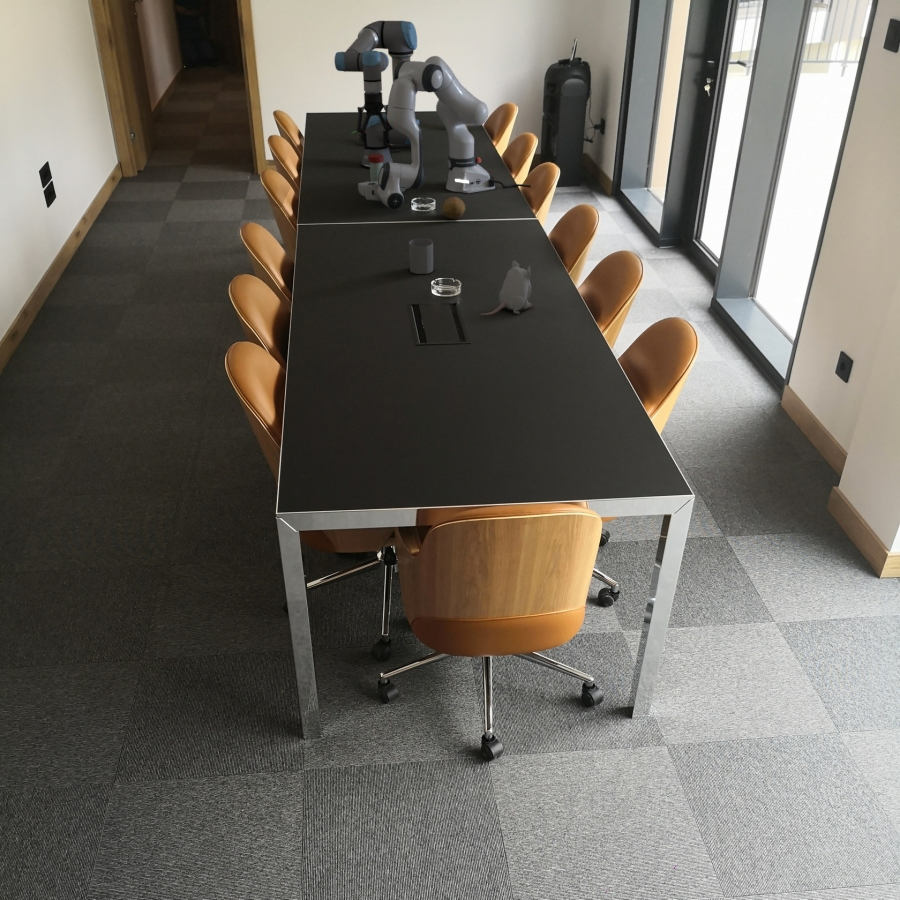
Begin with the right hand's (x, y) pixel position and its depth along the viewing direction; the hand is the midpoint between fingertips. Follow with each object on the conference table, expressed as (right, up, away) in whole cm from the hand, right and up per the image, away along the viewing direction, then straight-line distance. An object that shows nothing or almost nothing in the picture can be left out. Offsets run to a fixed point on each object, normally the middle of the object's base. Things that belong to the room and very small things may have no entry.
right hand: (377, 181), depth 380 cm
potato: (+33, -22, -23) cm, 46 cm away
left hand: (0, +12, -7) cm, 14 cm away
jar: (0, -5, +4) cm, 6 cm away
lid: (0, +9, -5) cm, 11 cm away
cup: (+22, -54, -72) cm, 92 cm away
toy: (+49, -74, -104) cm, 137 cm away
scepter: (-7, +48, +86) cm, 99 cm away
